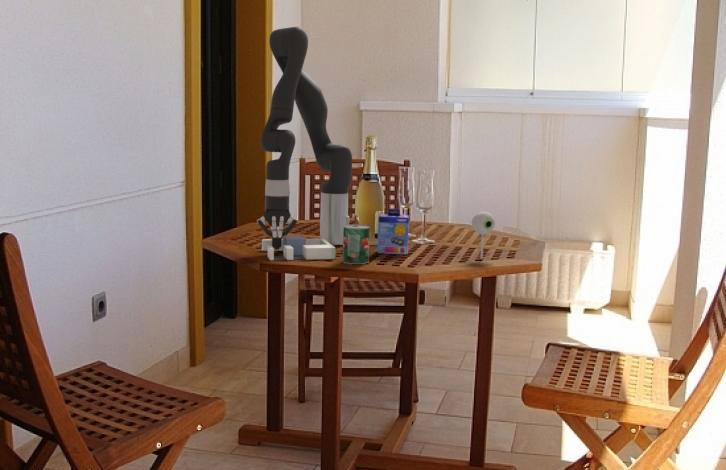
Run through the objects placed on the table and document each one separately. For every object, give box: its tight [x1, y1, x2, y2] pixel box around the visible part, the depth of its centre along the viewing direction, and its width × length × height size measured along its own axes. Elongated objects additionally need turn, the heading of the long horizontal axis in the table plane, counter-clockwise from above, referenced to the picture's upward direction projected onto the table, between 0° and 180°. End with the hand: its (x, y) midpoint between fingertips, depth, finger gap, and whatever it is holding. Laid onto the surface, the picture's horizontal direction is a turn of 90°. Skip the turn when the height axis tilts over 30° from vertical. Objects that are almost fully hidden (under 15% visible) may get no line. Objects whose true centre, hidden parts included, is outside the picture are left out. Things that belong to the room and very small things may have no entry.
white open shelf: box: [261, 238, 336, 261], centre depth 288 cm, size 20×18×4 cm
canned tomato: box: [342, 223, 371, 265], centre depth 277 cm, size 8×8×11 cm
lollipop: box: [471, 211, 496, 260], centre depth 288 cm, size 7×7×15 cm
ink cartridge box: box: [377, 208, 410, 256], centre depth 295 cm, size 10×6×14 cm, turn 87°
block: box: [282, 235, 307, 256], centre depth 290 cm, size 6×6×5 cm
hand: (276, 248), depth 289 cm, fingers closed
